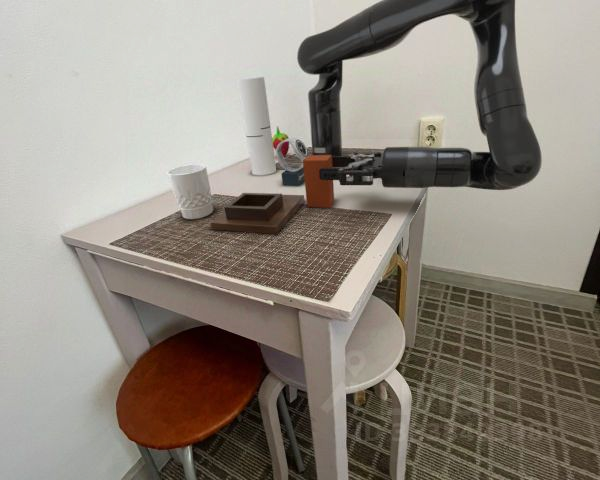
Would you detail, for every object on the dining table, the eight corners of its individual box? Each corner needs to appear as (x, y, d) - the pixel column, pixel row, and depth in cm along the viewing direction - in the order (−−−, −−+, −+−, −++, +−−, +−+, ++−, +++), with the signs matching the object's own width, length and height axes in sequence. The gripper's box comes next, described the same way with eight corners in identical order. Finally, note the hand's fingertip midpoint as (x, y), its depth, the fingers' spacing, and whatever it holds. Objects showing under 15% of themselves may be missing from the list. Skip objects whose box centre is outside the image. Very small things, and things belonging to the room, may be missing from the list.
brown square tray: (248, 199, 77) (245, 183, 75) (304, 201, 73) (303, 184, 71) (211, 229, 64) (207, 210, 62) (277, 234, 60) (274, 214, 58)
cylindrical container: (280, 170, 96) (268, 76, 85) (259, 176, 93) (244, 79, 81) (268, 166, 102) (256, 77, 90) (248, 172, 98) (232, 80, 87)
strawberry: (270, 159, 109) (266, 128, 105) (277, 154, 116) (273, 124, 111) (287, 159, 108) (283, 127, 103) (293, 153, 114) (290, 123, 109)
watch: (305, 186, 82) (301, 141, 77) (276, 185, 85) (270, 141, 80) (313, 179, 86) (309, 136, 81) (285, 178, 89) (280, 136, 84)
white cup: (178, 211, 75) (165, 168, 70) (212, 203, 77) (202, 161, 72) (181, 224, 68) (168, 177, 63) (219, 214, 71) (208, 169, 66)
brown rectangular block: (312, 200, 73) (308, 155, 68) (334, 200, 71) (332, 154, 67) (306, 206, 70) (302, 160, 65) (329, 207, 68) (327, 160, 63)
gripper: (412, 138, 65) (332, 140, 71) (408, 157, 53) (313, 158, 59) (409, 175, 69) (334, 174, 74) (406, 200, 57) (316, 197, 62)
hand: (325, 167), depth 66 cm, fingers open, 8 cm apart
